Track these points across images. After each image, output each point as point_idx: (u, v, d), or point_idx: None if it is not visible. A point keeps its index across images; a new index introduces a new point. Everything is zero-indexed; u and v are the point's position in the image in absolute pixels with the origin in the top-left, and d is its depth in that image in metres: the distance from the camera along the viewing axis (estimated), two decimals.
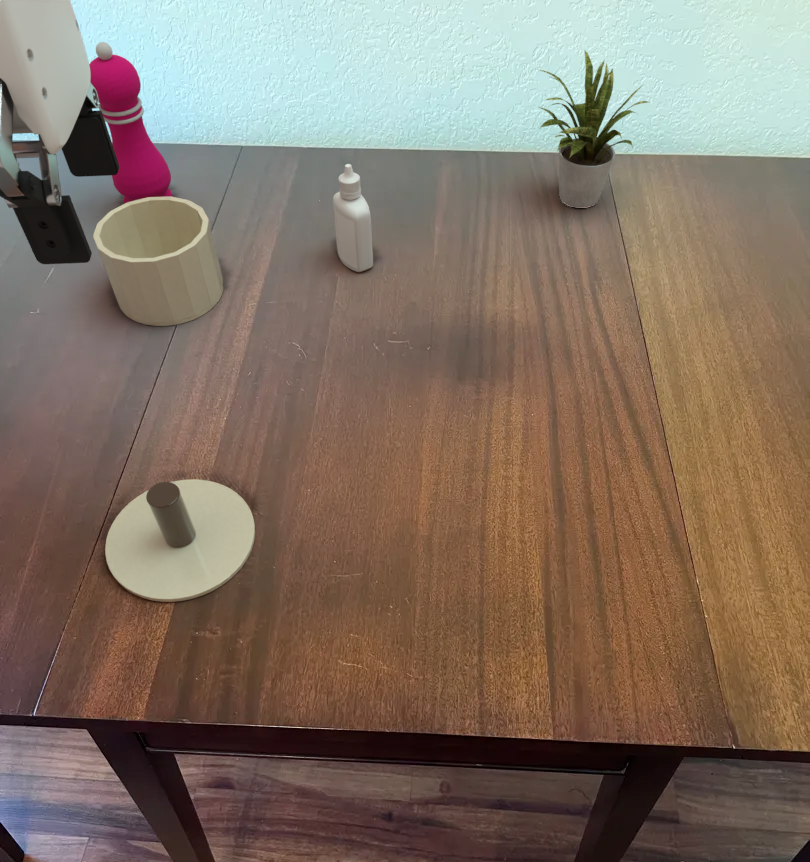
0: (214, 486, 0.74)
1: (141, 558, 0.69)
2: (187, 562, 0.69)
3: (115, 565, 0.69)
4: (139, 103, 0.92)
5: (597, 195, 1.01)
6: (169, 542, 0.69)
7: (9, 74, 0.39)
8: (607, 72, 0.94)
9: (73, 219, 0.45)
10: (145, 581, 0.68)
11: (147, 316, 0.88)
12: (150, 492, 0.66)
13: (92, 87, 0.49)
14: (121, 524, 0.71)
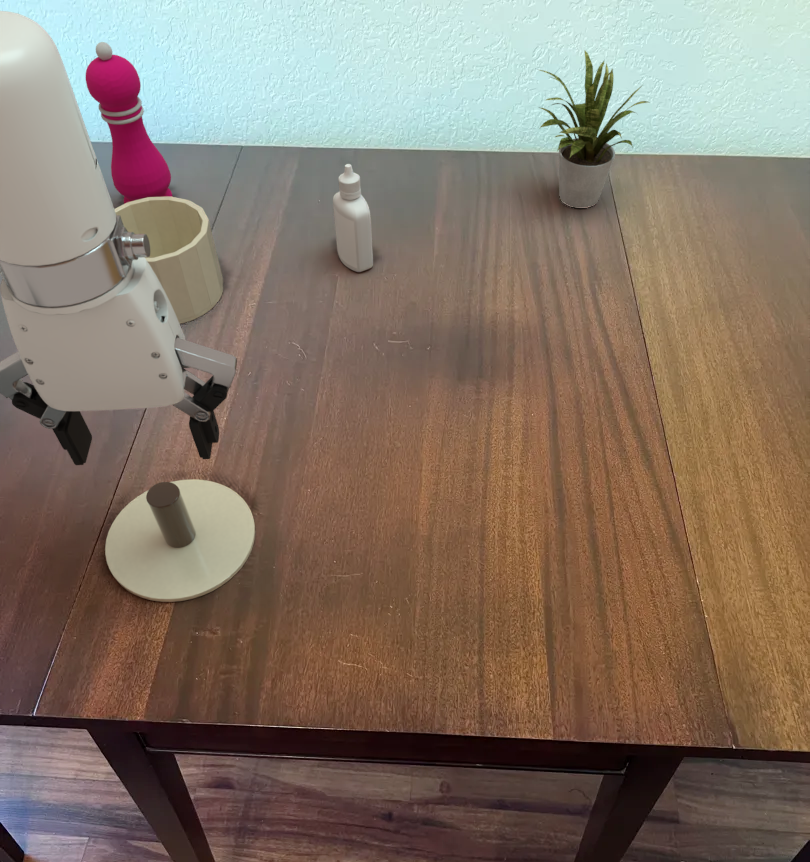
0: (214, 486, 0.74)
1: (141, 558, 0.69)
2: (187, 562, 0.69)
3: (115, 565, 0.69)
4: (139, 103, 0.92)
5: (597, 195, 1.01)
6: (169, 542, 0.69)
7: None
8: (607, 72, 0.94)
9: (63, 441, 0.58)
10: (145, 581, 0.68)
11: None
12: (150, 492, 0.66)
13: (200, 410, 0.56)
14: (121, 524, 0.71)
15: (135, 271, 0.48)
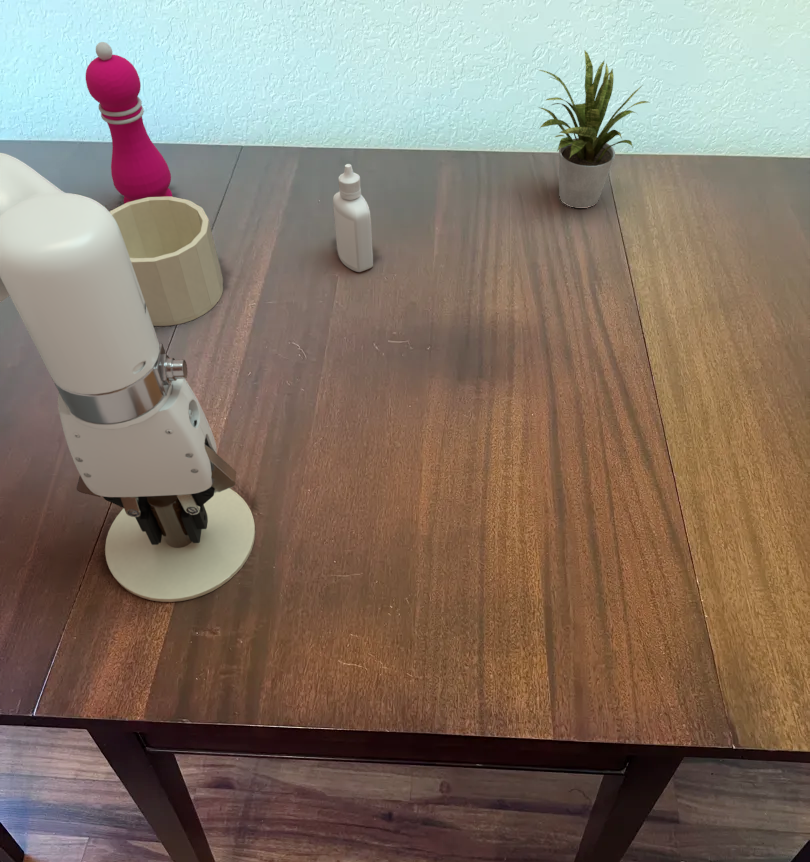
0: None
1: (141, 558, 0.69)
2: (187, 562, 0.69)
3: (115, 565, 0.69)
4: (139, 103, 0.92)
5: (597, 195, 1.01)
6: (169, 542, 0.69)
7: None
8: (607, 72, 0.94)
9: (143, 526, 0.67)
10: (145, 581, 0.68)
11: None
12: None
13: (195, 507, 0.65)
14: (121, 524, 0.71)
15: (173, 387, 0.56)
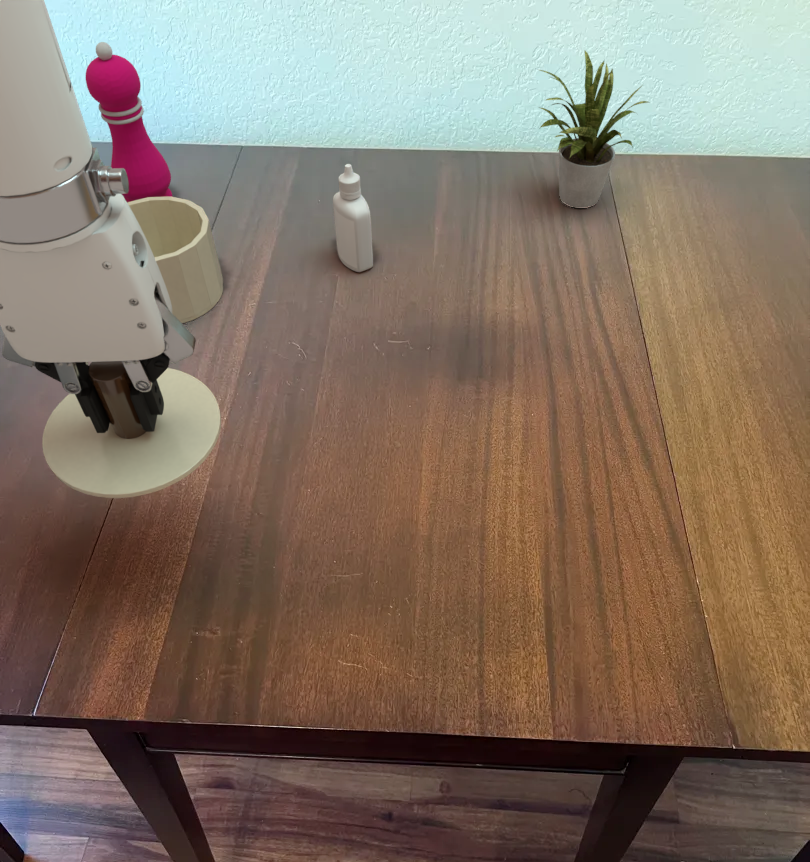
0: (174, 373, 0.63)
1: (85, 449, 0.58)
2: (139, 454, 0.58)
3: (53, 456, 0.58)
4: (139, 103, 0.92)
5: (597, 195, 1.01)
6: (118, 431, 0.58)
7: None
8: (607, 72, 0.94)
9: (85, 407, 0.56)
10: (88, 474, 0.57)
11: None
12: (93, 364, 0.55)
13: (146, 381, 0.54)
14: (63, 413, 0.61)
15: (112, 210, 0.46)
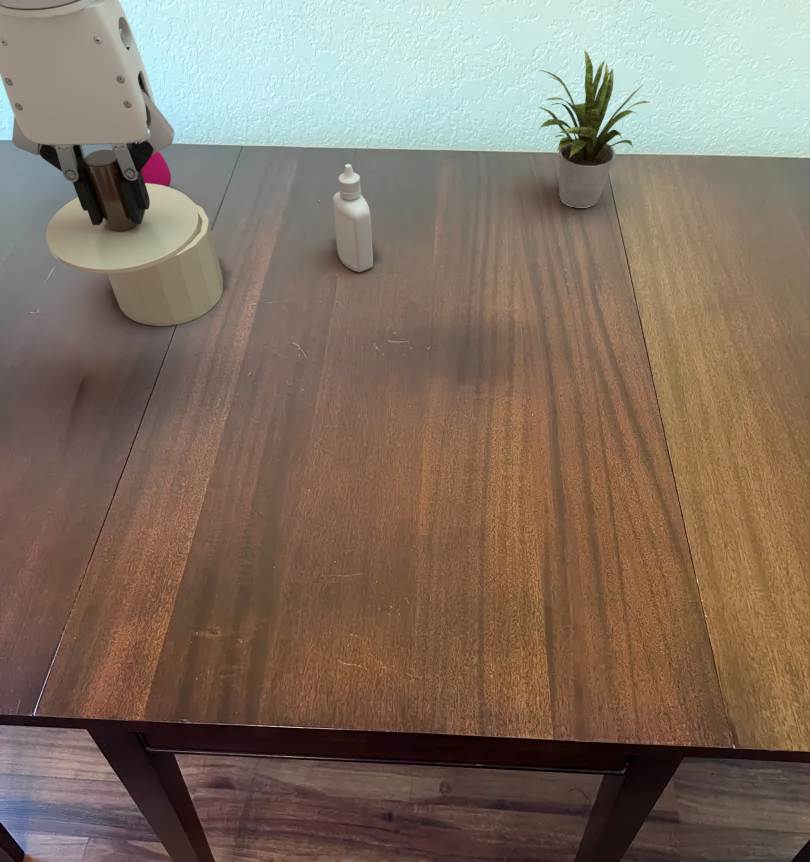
0: (160, 188, 0.73)
1: (82, 239, 0.68)
2: (127, 242, 0.68)
3: (55, 244, 0.68)
4: None
5: (597, 195, 1.01)
6: (110, 224, 0.68)
7: None
8: (607, 72, 0.94)
9: (82, 196, 0.66)
10: (84, 256, 0.67)
11: (147, 316, 0.88)
12: (88, 156, 0.65)
13: (133, 168, 0.64)
14: (64, 214, 0.71)
15: None
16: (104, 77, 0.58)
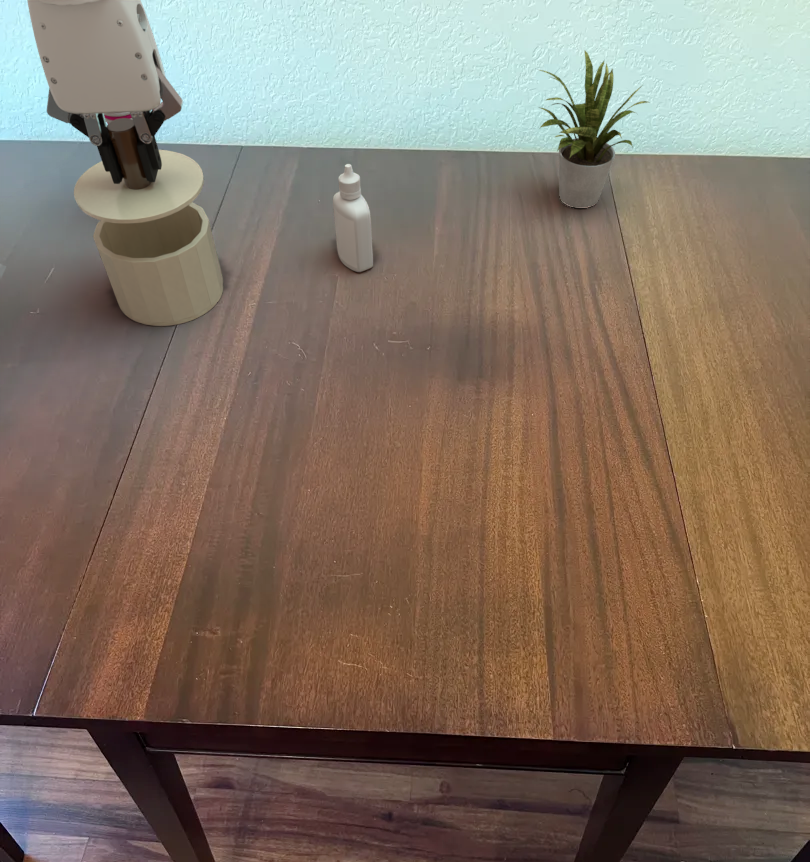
0: (170, 153, 0.85)
1: (104, 196, 0.80)
2: (144, 198, 0.80)
3: (82, 200, 0.80)
4: None
5: (597, 195, 1.01)
6: (128, 182, 0.81)
7: None
8: (607, 72, 0.94)
9: (105, 158, 0.78)
10: (107, 209, 0.79)
11: (147, 316, 0.88)
12: (110, 124, 0.77)
13: (148, 133, 0.76)
14: (88, 176, 0.83)
15: None
16: (125, 54, 0.70)
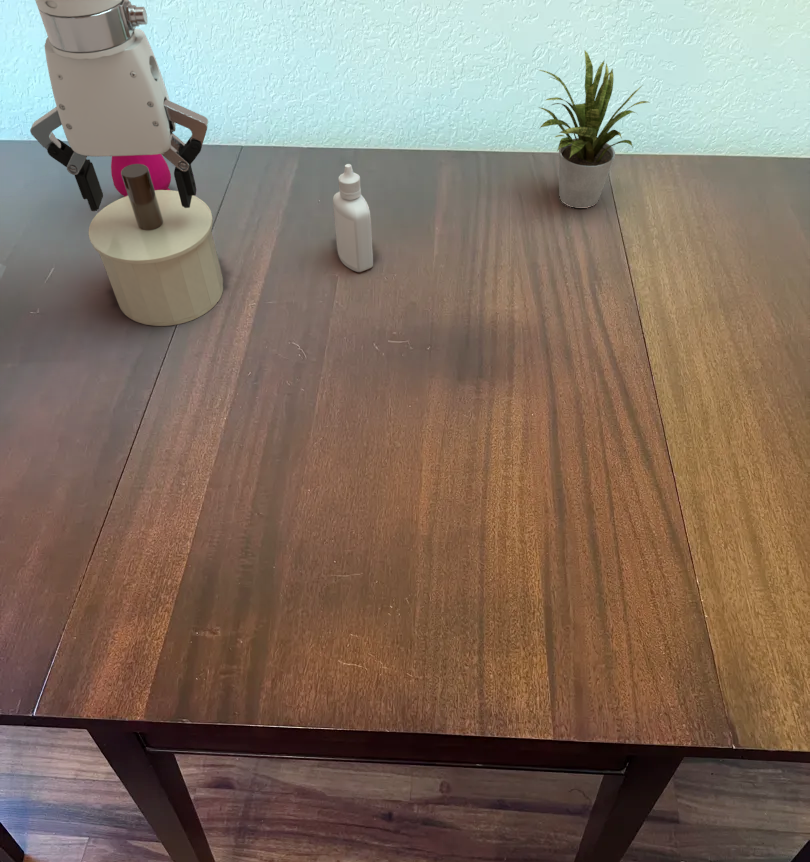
0: None
1: (118, 236, 0.84)
2: (155, 238, 0.84)
3: (96, 240, 0.84)
4: None
5: (597, 195, 1.01)
6: (141, 223, 0.84)
7: None
8: (607, 72, 0.94)
9: (82, 186, 0.80)
10: (121, 250, 0.83)
11: (147, 316, 0.88)
12: (124, 169, 0.81)
13: (182, 160, 0.79)
14: (102, 217, 0.86)
15: (137, 38, 0.71)
16: (137, 103, 0.73)
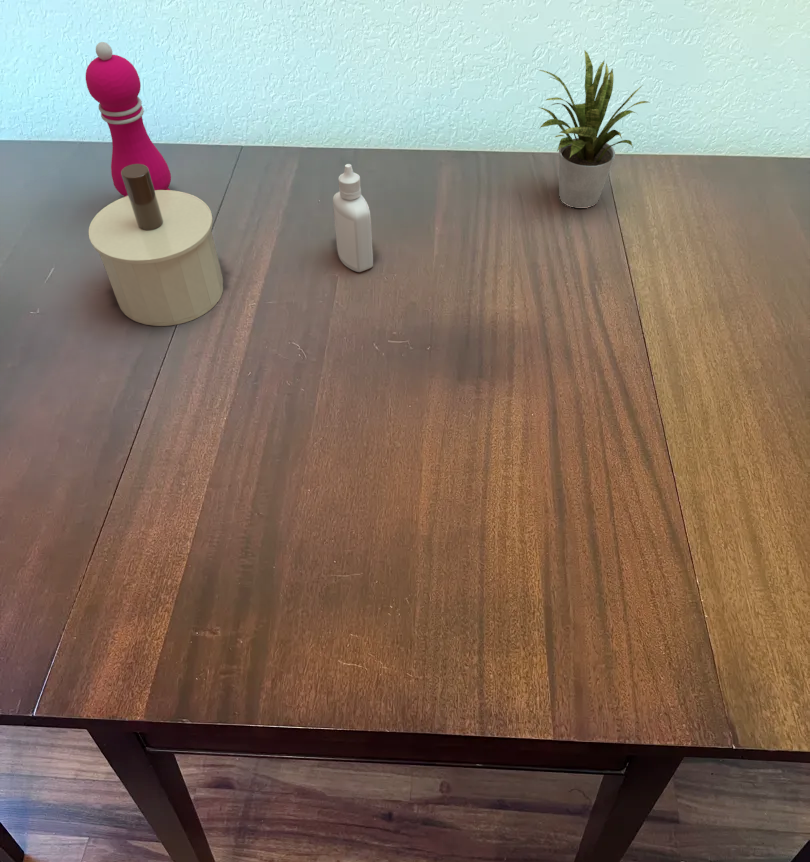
0: (180, 194, 0.89)
1: (118, 236, 0.84)
2: (155, 238, 0.84)
3: (96, 240, 0.84)
4: (139, 103, 0.92)
5: (597, 195, 1.01)
6: (141, 223, 0.84)
7: None
8: (607, 72, 0.94)
9: None
10: (121, 250, 0.83)
11: (147, 316, 0.88)
12: (124, 169, 0.81)
13: None
14: (102, 217, 0.86)
15: None
16: None
